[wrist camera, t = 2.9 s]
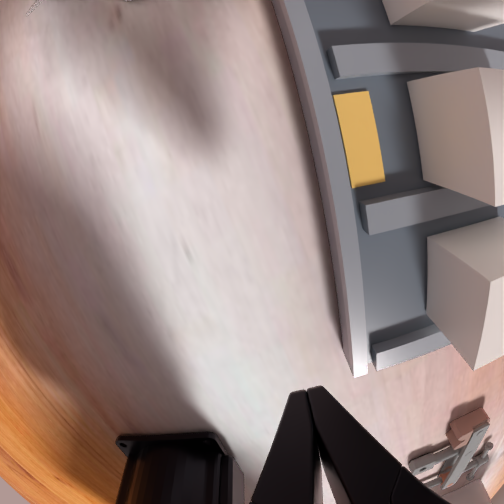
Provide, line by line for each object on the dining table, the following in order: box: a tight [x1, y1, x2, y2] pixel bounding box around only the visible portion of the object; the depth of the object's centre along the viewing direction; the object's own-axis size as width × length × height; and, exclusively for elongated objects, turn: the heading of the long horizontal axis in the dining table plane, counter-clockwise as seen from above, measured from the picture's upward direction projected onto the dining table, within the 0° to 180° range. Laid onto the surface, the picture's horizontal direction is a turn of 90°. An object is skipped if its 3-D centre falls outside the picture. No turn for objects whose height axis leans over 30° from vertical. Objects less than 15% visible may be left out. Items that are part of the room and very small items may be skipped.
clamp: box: [409, 407, 493, 490], centre depth 19 cm, size 15×2×10 cm
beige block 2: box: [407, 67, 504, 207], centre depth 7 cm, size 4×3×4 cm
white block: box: [426, 216, 504, 371], centre depth 9 cm, size 4×3×4 cm
